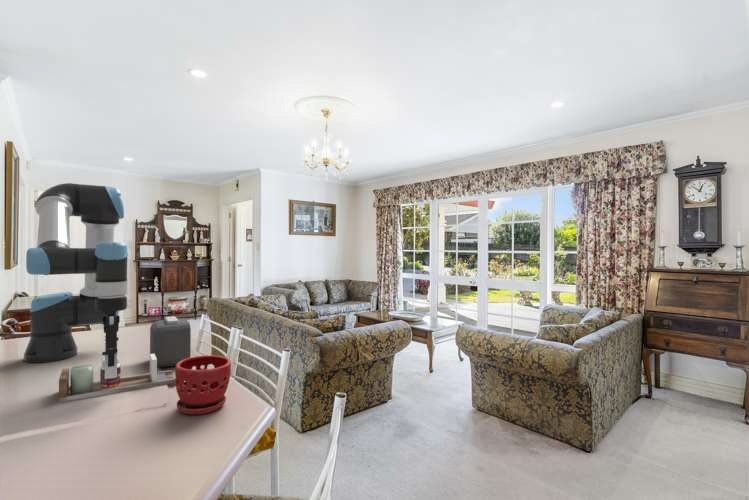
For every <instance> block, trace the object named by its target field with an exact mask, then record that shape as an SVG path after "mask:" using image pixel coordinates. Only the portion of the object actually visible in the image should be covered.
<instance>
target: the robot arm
mask: <svg viewBox="0 0 749 500" xmlns="http://www.w3.org/2000/svg"><path fill="white" fill-rule="evenodd" d="M122 196H123V195H122V192H121V190H120V189H119V188H117V187H113V186H106V185H96V184H95V185H93V184H84V183H83V184H81V183H80V184H79V183H71V182H70V183H69V182H68V183H60V184H56V185H54V186H51V187H49V188H47V189H46V190H44V191H43V192H42V193H41V194H40V195H39V196H38V197H37V199H36V202H35V211H36V214H37V215H38V227H37V242H36V243H37V244H36V247H30V248H27V250H26V256H25V257H26V261H25V263H26V264H25V266H26V267H25V269H26V272H27V273H28V274H29V275H32V276H33V275H34V276H35V275H37V276H38V275H39V276H40V275H43V276H49V275H54V276H55V275H80V274H81V275H82V274H83V275H84V286H83V287H82V288H81V289H80V290H79V294H77V295H73V293H72V291H67V292H66V291H65V292H55V293H51V294H44V295H40V296H37V297H34V298H33V299H32V300H31V301H30V309H29V312H30V338H29V341H28V343H27V346H26V348H25V351H24V353H23V362H25V363H31V364H32V363H34V364H37V363H48V362H55V361H61V360H66V359H69V358H72V357H75V356H77V355H78V345H77V343H76V341H75V339H74V336H73V334H72V333H73V331H72V329H73V328H72V327H80V326H93V325H103V333H104V334H105V336H104V338H105V339H104V341H105V343H104V351H102V353H101V356H104V358H105V379H108V378H114V377H117V357H118V350H119V349H118V342H119V337H118V332H119V329H120V328H119V327H120V325H119V324H120V321H121V320H120V319H121V317H120V315H119V313H120V311H125V310H126V309H127V308H128V297H127V294H128V256H129V253H128V244H127V243H126V242H120V241H119V242H115V241H114V240H115V239H114V235H115V227H117V225H119V224H120V220H123V219H124V218H125V208H124V200H123V197H122ZM70 217H80V222H81V223H82V224H83V225H84V226H85V247H82V248H79V247H78V248H77V247H71V237H70V235H71V232H70V227H71V226H70Z"/></svg>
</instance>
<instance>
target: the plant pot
mask: <svg viewBox="0 0 749 500" xmlns="http://www.w3.org/2000/svg"><path fill="white" fill-rule="evenodd" d="M209 365H212V366H213V367H214V368H208V367H209ZM202 366H203V368H201V367H202ZM193 367H195V369H192V368H193ZM231 370H232V361H231V359H230V358H228V357H225V356H220V355H198V356H197V355H196V356H190V358H186V359H184V360H181V361H180V362H178V363H177V364H176V365H175V375H174V376H175V377H174V378H175V382H176V386H175V389H176V393H177V396H178V398H179V399H178V400H177V402H176V408H177V409H178V410H179V411H180V412H181V413H183V414H187V415H203V414H208V413H212V412H214V411H216V410H218V409H220V408H222V407H223V406H224V404H225V403H226V401H227V398H226V396H225V395H226V392H227V390H228V387H229V383H230V379H231V373H232V371H231Z"/></svg>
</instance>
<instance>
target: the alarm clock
mask: <svg viewBox="0 0 749 500" xmlns="http://www.w3.org/2000/svg"><path fill="white" fill-rule="evenodd" d="M191 330H192V329H191V324H190V322H189V321H188V319H186V318H185V317H181V318H177V317H176V316H174V315H172V316H165V317H164V319H158V320H156V321H154V322H153V323H151V325H150V329H149V331H150V332H149V355H150V354H155V356H156V358H157V367H159V368H166V367H167V368H168V367H173V366H175V367H176V364H177V363H178V362H180V361H181V360H184V359H186V358H191V345H192V344H191V337H192V335H191V334H192V333H191Z"/></svg>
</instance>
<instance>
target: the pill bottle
mask: <svg viewBox="0 0 749 500" xmlns="http://www.w3.org/2000/svg"><path fill="white" fill-rule="evenodd" d="M121 369H122V368H121V364H120V357H119V356H117V377H114V378H108V379H105V357H104V358H102V360H101V366H100V374H99V375H100V377H99V379H100V380H99V381H100V389H101V390H107V389H113V388H119V387H120V378H121V371H122V370H121Z"/></svg>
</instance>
